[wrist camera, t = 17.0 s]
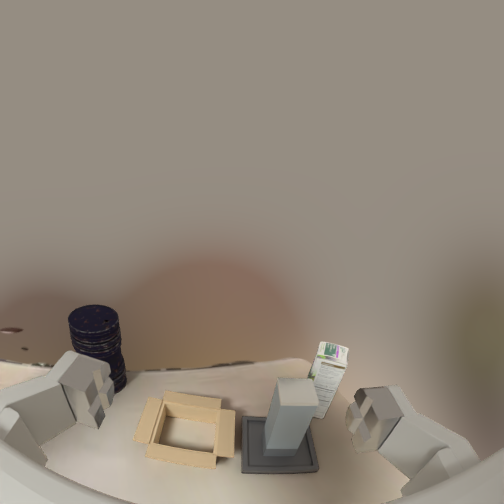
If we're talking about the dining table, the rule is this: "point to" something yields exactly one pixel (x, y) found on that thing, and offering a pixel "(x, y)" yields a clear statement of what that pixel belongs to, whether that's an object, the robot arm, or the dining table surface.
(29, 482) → the robot arm
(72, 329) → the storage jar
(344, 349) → the syrup box
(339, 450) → the dining table surface
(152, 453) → the carton
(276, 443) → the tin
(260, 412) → the dining table surface
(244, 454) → the tray
